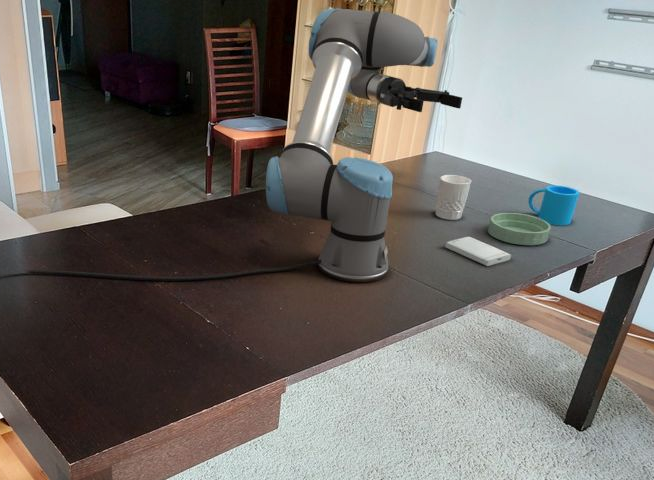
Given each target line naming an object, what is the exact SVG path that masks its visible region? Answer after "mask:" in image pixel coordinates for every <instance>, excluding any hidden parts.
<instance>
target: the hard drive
mask: <svg viewBox="0 0 654 480" xmlns="http://www.w3.org/2000/svg"><path fill="white" fill-rule="evenodd" d="M445 248H446V249H448V250H450V251H452V252H455V253H457V254H459V255H461V256H464V257H466V258H468V259H469V260H470V259H471V260H472V261H475V262H477V263H480V264H481V265H483V266H486V267H489V266H493V265H498V264H501V263H504V262H508V261H510V260H511V258H512V254H510V253H508V252H506V251H504V250H501V249H500V248H497V247H496V246H495V247H494V246H492V245H491V244H487V243H485V242H482V241H481V240H479V239H476V238H474V237H471V236H465V237H461V238H457V239H453V240H449V241H447V242H445Z"/></svg>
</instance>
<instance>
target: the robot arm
mask: <svg viewBox="0 0 654 480" xmlns="http://www.w3.org/2000/svg"><path fill="white" fill-rule="evenodd" d="M310 30H311V31H310V37H309V38H308V39H309V40H308V56H309V59H310V60H311V62H312V65H313V68H314V72H313V75H312V78H311V81H310V84H309V87H308V91H307V94H306V96H305V97H306V98H305V101H304V104H303V107H302V110H301V114H300V116H299V119H298V123H297V126H296V129H295V133H294V136H293V140H292V142H291V143H288V144H286V145H285V146H284V148H283V149H282V151H281V154H280V157H279V156H277V155H276V156H272V157H271V158H270V159H269V161H268V163H267V169H266V175H265V196H266V203H267V207H268V208H269V209H270V210H271V211H272V212H274V213H278V214H284V215H286V216H296V217H303V218H310V219H315V220H322V221H328V222H329V221H330V224H331V225H330V231H329V234H328V236H327V239H326V241H325V242H324V245H323V247H322V249H321V252H320V253H319V257H318V260H313V261H308V262H302V263H299V264H294V265H290V266H284V267H273V268H259V269H251V270H244V271H238V272H230V273H221V274H212V275H211V274H210V275H196V276H195V275H191V276H149V275H148V276H147V275H129V274H128V275H127V274H114V273H101V272H90V271H89V272H88V271H87V272H86V271H75V270H72V271H71V270H49V269H48V270H46V269H25V270H26V271H27V270H28V271H29V272H30V273H33V275H34V274H37V275H38V274H40V275H43V274H44V275H65V276H67V275H68V276H80V277H81V276H83V277H94V278H95V277H97V278H110V279H125V280H139V281H168V282H169V281H176V282H177V281H178V282H179V281H201V280H214V279H224V278H233V277H239V276H240V277H241V276H246V275H253V274H260V273H261V274H264V273H278V272H286V271H287V272H288V271H292V270H296V269H300V268H305V267H309V266H315V265H317V266H318V269H319V270H320V271H321V273H323V274H324V275H325V276H328V277H330V278H332V279H335V280H337V281H338V280H339V281H343V282H347V283H348V282H349V283H371V282H376V281H379V280H382V279H383V278H385V277H386V276H387V274H388V270H389V257H388V253H389V251H388V245H386V241H385V236H386V230H387V222H388V217H389V216H388V215H389V209H390V203H391V198H392V197H393V183H394V182H393V181H394V177H393V174H392V172H391V171H390V170H389V168H388V167H386V166H384V165H383V164H381V163H379V162H376V161H373V160H370V159H367V158H361V157H343V158H340V159H339V160H338V162H337V163H336V164H334V160H333V157H332V155H331V154H330V153H331V149H332V146H333V143H334V139H335V136H336V132H337V130H338V129H337V128H338V126H339V122H340V118H341V115H342V112H343V108H344V105H345V101H346V98H347V95H348V93H349V95H352V96H354V97H356V98H358V99H363V100H368V101H371V102H375V103H376V105H378V106H379V105H381V104H382V105H384V106H387V107H390V108H394V107H396V110H398V111H401V110H402V108H403V109H407V110H410V111H414V112H418V113H422V112H423V108H424V102H428V103H439V104H440V105H443V106H447V107H451V108H455V109H461V106H462V103H463V97H461V96H457V95H453V94H450V91H448V90H447V89H445V90H444V91H442V90H435V89H426V88H421V87H412V86H407V85H406V83H405V81H404V80H403V79H402V78H398V77H395V76H391V75H387V74H383V73H381V70H382V68H388V67H396V66H397V67H398V66H411V67H420V68H423V67H425V68H426V67H427V68H431V67H432V66H434V65H435V61H436V57H437V52H438V45H439V43H438V42H439V41H438V39H437V38H435V37H429V36H425V34H424V31H423V29H422V28H421V27H420V26H419V25H418V24H417V22H415V21H412V20H411V19H408V18H406V17H404V16H401V15H399V14H396V13H392V12H388V11H374V10H373V11H371V10H358V9H345V8H344V9H343V8H339V7H338V8H329V9H328V8H327V9H326V8H325V9H323V10H322V11H320V12H319V13H318V14H317V16H316V18H315V19H314V22H313V25H312V26H311V29H310ZM30 270H31V271H30ZM28 271H27V272H28ZM29 272H28V273H29Z"/></svg>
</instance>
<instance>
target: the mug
mask: <svg viewBox="0 0 654 480" xmlns="http://www.w3.org/2000/svg"><path fill="white" fill-rule="evenodd" d="M543 192H544V194H543V196H542V201H541V205H540V208H539V210H538V209H537V208H536V207H535V206H534V203H533V199H534V197H535V196H536V195H537V194H540V193H543ZM580 194H581V193H580V190H578V189H575V188H574V187H570V186H565V185H555V184H553V185H547V186H546V187H545V188H540V189H537V190H534V191H533V192H532V193H531V194H530V195H529V197H528V206H529V208H530V209H531V210H532V211H533V212H534V213H535V214H537V218H540V219H542V220H544V221H546V222H548V223H549V224H550V225H553V226H568V225H570V224H571V223H572V219H573V216H574V212H575V210H576V207H577V203H578V199H579V196H580Z"/></svg>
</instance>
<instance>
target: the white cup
mask: <svg viewBox="0 0 654 480" xmlns="http://www.w3.org/2000/svg"><path fill="white" fill-rule="evenodd" d="M471 185H472V179H471V178H468V177H466V176H463V175H456V174H443V175H441V176H440V178H439V184H438V191H437V199H436V208H435V212H434V213H435V214H434V215H435V216H436V217H438V218H440V219H443V220H446V221H447V220H449V221H456V220H460V219H462V216H463V214H464V213H463V212H464V209H465V207H466V203H467V199H468V196H469V193H470V189H471Z"/></svg>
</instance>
